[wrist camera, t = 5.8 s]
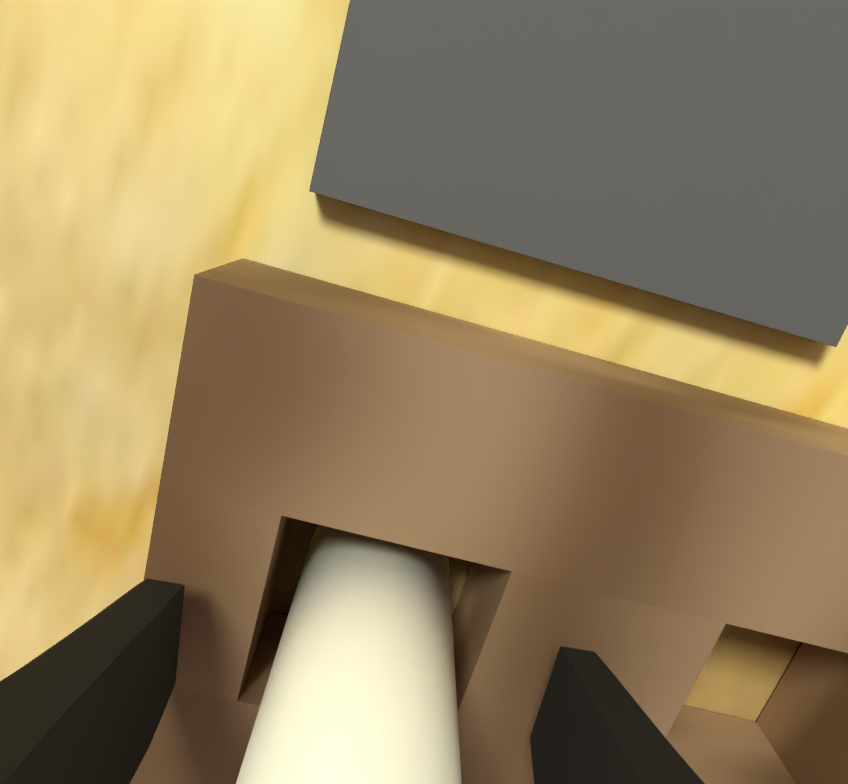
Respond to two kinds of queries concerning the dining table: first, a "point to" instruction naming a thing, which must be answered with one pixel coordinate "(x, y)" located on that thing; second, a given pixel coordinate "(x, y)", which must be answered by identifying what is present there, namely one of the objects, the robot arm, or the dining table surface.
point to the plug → (361, 671)
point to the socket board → (495, 523)
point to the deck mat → (612, 141)
